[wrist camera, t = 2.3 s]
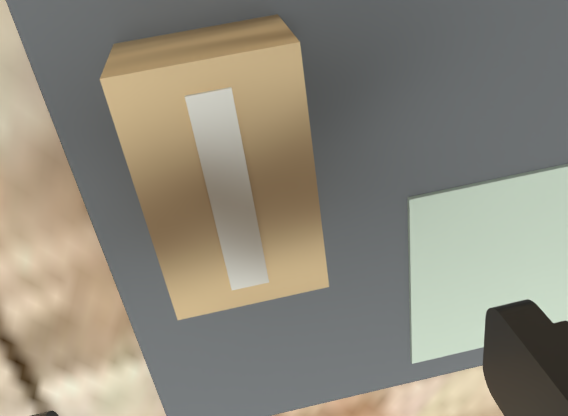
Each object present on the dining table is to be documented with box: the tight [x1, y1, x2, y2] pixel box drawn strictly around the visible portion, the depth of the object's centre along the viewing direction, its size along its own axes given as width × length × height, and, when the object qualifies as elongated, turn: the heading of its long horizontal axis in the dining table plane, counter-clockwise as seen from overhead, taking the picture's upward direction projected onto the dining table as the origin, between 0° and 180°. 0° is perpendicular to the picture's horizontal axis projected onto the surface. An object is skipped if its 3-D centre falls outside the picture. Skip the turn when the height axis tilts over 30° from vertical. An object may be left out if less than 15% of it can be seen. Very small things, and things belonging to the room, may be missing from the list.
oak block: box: [100, 14, 329, 320], centre depth 17 cm, size 8×5×4 cm, turn 8°
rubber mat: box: [6, 0, 568, 416], centre depth 21 cm, size 20×22×1 cm
